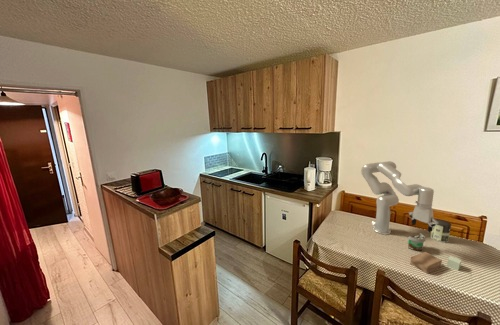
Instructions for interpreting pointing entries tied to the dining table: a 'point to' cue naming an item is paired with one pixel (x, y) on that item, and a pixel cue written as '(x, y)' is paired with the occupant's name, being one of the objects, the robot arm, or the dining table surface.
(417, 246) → the food container
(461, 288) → the dining table surface
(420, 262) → the walnut block
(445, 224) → the coffee can
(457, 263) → the sage block
